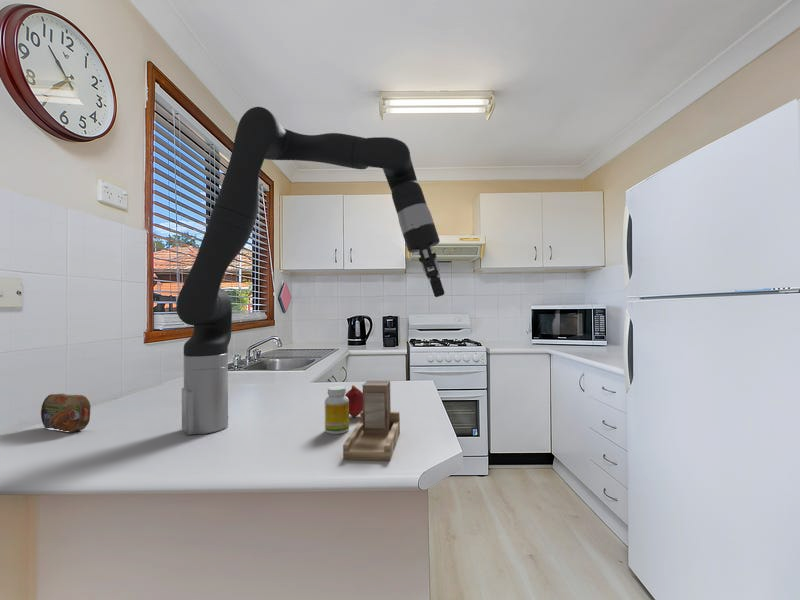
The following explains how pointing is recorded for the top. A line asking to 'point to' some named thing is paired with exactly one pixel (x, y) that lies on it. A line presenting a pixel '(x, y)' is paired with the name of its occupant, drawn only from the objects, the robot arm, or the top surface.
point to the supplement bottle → (336, 411)
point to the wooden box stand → (374, 426)
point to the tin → (65, 412)
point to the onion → (355, 401)
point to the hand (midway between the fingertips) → (440, 295)
